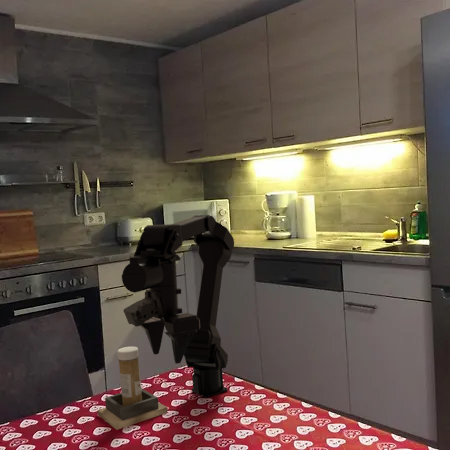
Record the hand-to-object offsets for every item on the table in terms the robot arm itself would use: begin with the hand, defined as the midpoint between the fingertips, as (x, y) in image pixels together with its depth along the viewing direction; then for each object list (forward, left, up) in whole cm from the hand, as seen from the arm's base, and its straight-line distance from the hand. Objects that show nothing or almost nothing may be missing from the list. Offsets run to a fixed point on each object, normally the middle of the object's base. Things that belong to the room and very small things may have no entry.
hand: (166, 358), depth 115 cm
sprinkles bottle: (+4, -9, -12) cm, 16 cm away
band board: (+5, -9, -13) cm, 17 cm away
